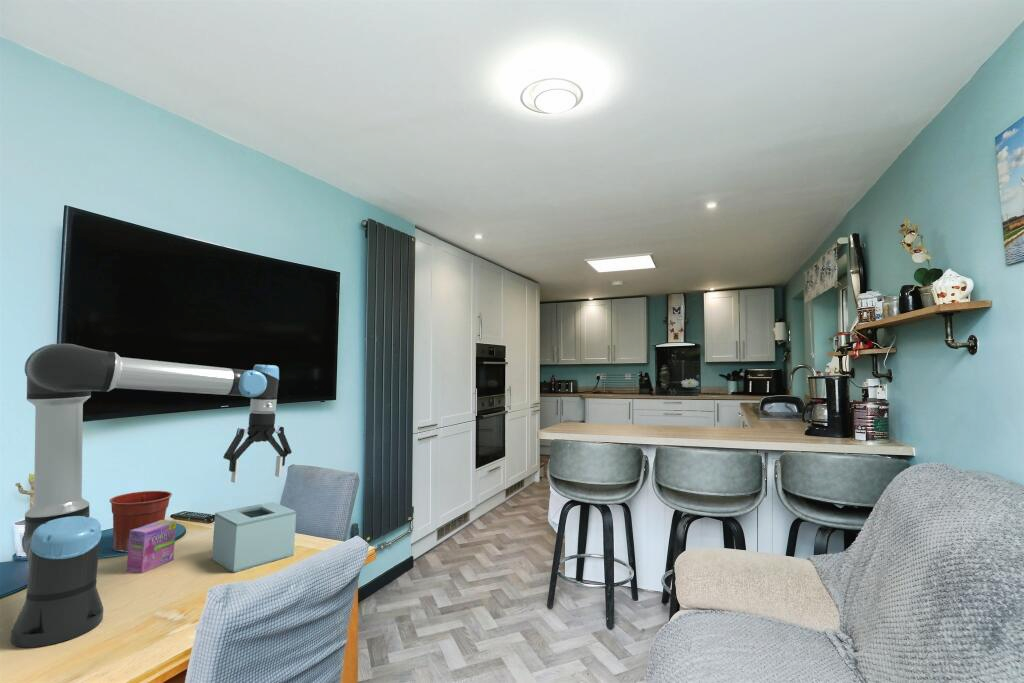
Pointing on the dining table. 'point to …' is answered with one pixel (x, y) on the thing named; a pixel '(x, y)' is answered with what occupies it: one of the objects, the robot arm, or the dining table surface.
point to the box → (151, 546)
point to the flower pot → (136, 513)
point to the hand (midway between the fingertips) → (256, 479)
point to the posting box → (253, 536)
